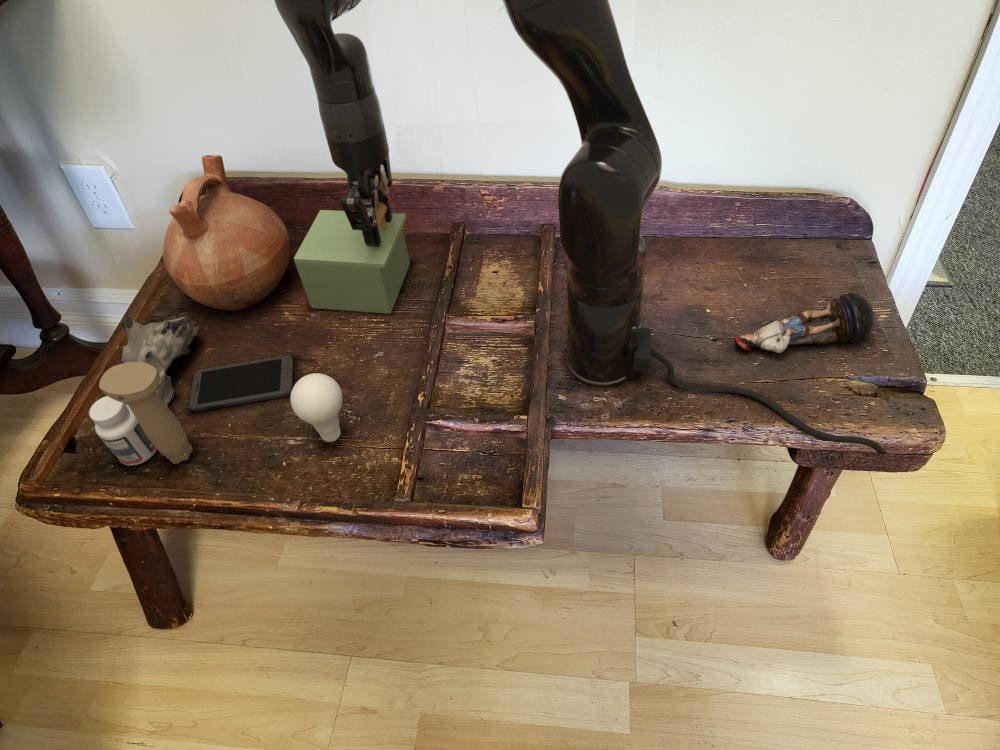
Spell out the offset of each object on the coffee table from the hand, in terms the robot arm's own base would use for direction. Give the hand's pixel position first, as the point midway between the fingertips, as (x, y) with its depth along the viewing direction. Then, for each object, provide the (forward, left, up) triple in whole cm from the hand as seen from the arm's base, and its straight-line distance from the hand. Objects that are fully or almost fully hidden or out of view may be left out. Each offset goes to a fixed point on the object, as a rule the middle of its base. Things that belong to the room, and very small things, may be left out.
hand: (379, 232), depth 105 cm
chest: (+5, 0, -10) cm, 12 cm away
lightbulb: (0, +29, -11) cm, 31 cm away
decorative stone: (+28, +20, -11) cm, 36 cm away
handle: (+19, +34, -11) cm, 40 cm away
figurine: (-59, +5, -11) cm, 60 cm away
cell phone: (+15, +22, -11) cm, 29 cm away
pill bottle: (+25, +34, -11) cm, 44 cm away
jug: (+24, +2, -11) cm, 26 cm away
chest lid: (+5, 0, -2) cm, 5 cm away
